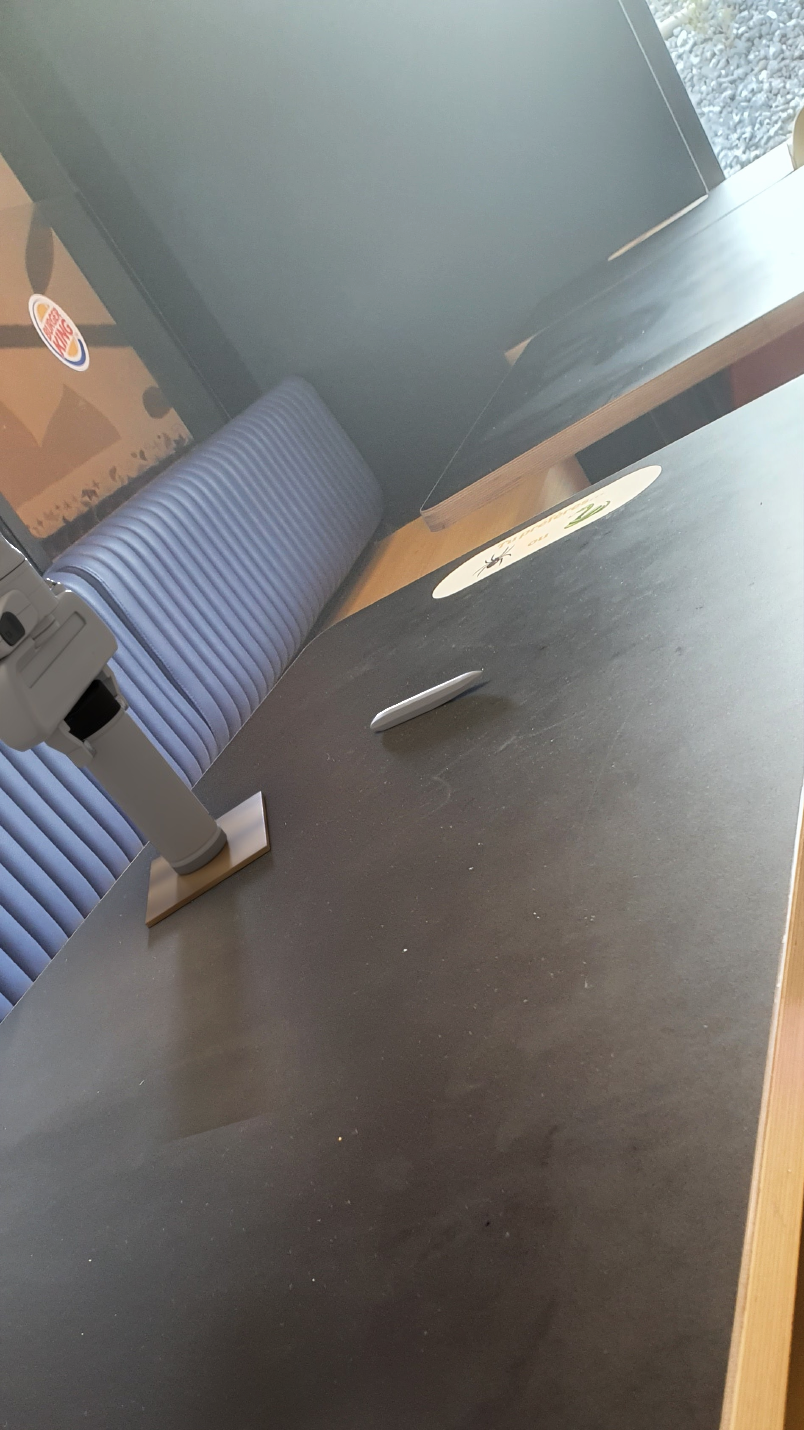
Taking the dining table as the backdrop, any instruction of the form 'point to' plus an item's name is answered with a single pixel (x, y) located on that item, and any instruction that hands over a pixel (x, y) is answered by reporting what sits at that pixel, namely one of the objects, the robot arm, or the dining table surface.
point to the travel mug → (144, 782)
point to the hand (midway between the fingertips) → (106, 736)
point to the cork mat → (239, 850)
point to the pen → (424, 701)
